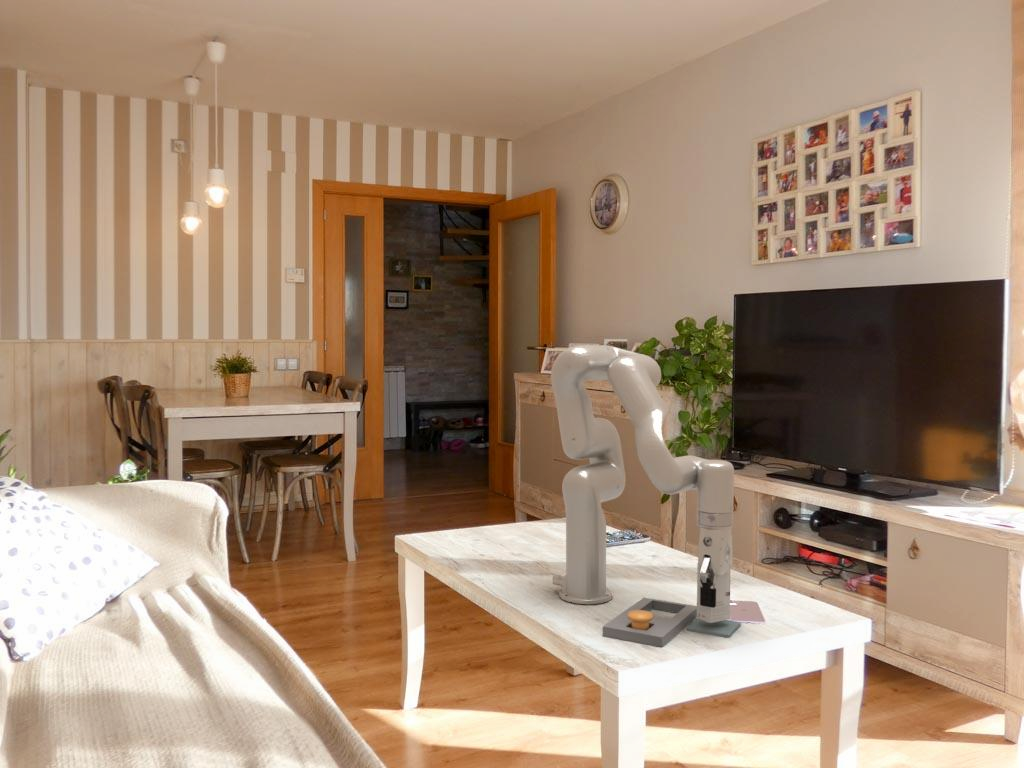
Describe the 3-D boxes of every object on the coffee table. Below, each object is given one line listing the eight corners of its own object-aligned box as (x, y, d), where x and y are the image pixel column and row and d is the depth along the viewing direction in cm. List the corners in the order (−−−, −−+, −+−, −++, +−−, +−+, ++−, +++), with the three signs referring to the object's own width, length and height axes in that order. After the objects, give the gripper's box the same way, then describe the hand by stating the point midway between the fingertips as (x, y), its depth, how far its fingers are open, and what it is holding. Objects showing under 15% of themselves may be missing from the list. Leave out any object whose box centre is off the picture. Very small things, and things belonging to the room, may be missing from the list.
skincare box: (710, 624, 178) (712, 567, 178) (695, 618, 182) (696, 562, 181) (731, 618, 182) (732, 562, 181) (715, 613, 185) (716, 558, 185)
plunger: (623, 636, 177) (623, 615, 176) (633, 628, 181) (633, 608, 181) (647, 640, 174) (647, 619, 174) (656, 633, 178) (656, 612, 178)
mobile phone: (730, 619, 185) (724, 599, 200) (730, 624, 185) (724, 603, 200) (766, 621, 184) (757, 600, 199) (766, 626, 184) (757, 604, 199)
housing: (602, 635, 177) (602, 626, 177) (643, 606, 197) (643, 597, 197) (662, 647, 170) (662, 637, 170) (698, 615, 190) (698, 606, 190)
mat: (686, 630, 180) (686, 627, 180) (700, 618, 188) (700, 615, 188) (728, 637, 176) (729, 635, 176) (740, 625, 183) (740, 622, 183)
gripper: (720, 528, 171) (718, 615, 172) (743, 513, 186) (742, 593, 187) (684, 524, 175) (683, 609, 176) (710, 509, 190) (708, 588, 191)
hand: (713, 600), depth 182 cm, fingers closed on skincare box, 7 cm apart
